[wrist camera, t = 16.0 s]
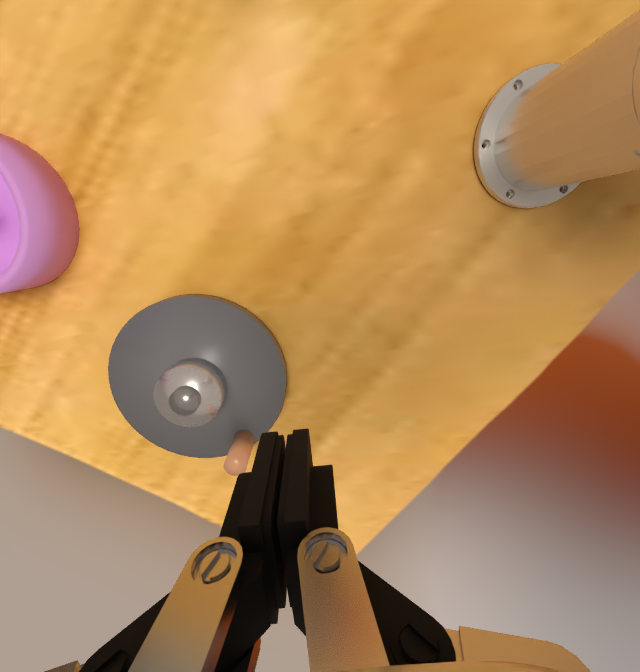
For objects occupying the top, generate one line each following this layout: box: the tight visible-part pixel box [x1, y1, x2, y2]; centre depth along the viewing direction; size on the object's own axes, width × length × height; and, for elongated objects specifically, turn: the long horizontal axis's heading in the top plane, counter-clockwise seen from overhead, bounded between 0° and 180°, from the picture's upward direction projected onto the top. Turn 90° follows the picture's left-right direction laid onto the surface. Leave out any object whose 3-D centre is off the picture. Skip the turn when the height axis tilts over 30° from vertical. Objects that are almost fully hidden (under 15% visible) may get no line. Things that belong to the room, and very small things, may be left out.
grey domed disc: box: [108, 294, 287, 476], centre depth 36 cm, size 20×20×7 cm
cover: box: [153, 358, 227, 427], centre depth 36 cm, size 7×7×4 cm
